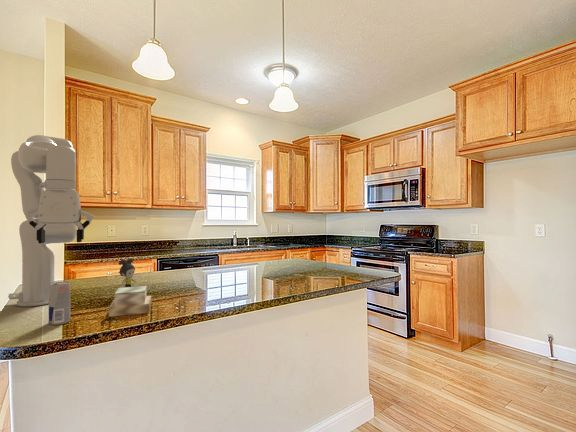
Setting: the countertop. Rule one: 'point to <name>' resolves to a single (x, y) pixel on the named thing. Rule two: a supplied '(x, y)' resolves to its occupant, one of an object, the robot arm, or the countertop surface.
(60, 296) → the energy drink
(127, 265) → the toy
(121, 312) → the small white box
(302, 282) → the countertop surface
